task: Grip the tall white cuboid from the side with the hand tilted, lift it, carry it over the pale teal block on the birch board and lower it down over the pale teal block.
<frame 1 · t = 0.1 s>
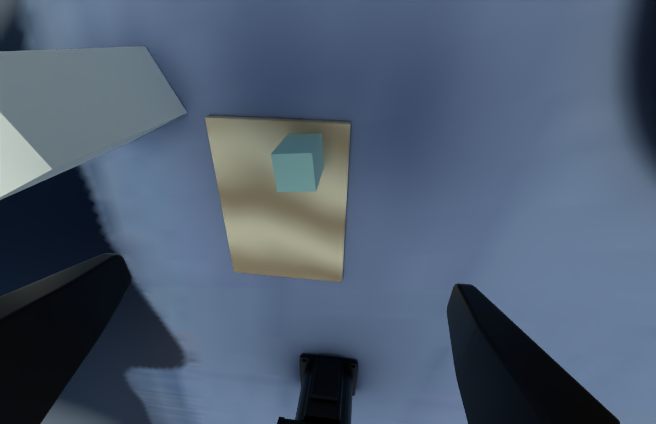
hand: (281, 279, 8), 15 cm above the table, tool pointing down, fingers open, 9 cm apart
tall white cuboid: (137, 97, 21), on the table
pale teal block: (306, 150, 21), resting on board
board: (284, 206, 24), on the table
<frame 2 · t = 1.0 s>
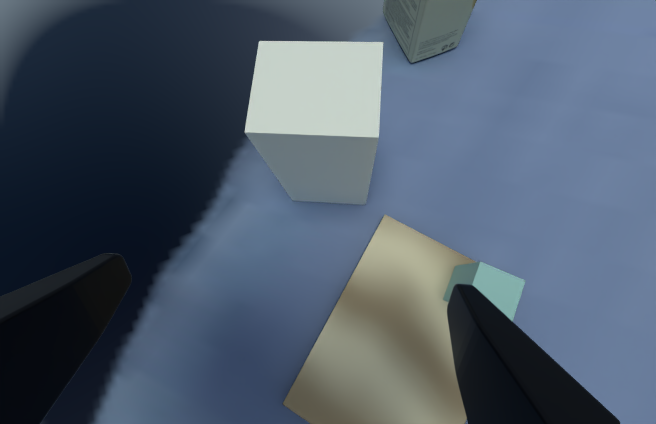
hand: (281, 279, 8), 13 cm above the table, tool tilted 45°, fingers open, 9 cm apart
tall white cuboid: (331, 174, 23), on the table
pale teal block: (466, 290, 20), resting on board
skincare box: (417, 29, 25), on the table
board: (403, 342, 20), on the table
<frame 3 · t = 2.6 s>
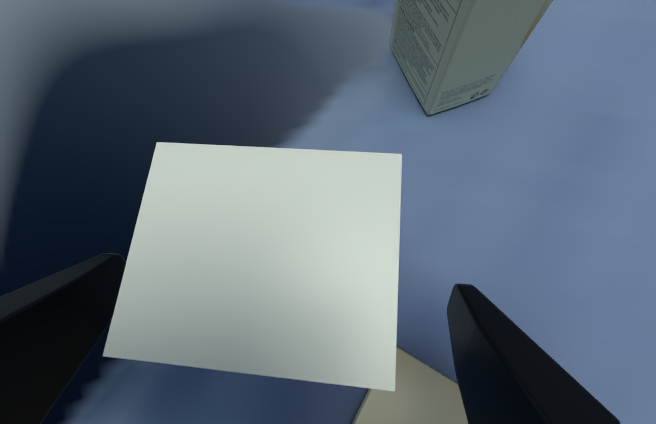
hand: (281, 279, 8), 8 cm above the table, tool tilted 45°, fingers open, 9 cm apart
tall white cuboid: (316, 275, 16), on the table
skincare box: (435, 68, 19), on the table
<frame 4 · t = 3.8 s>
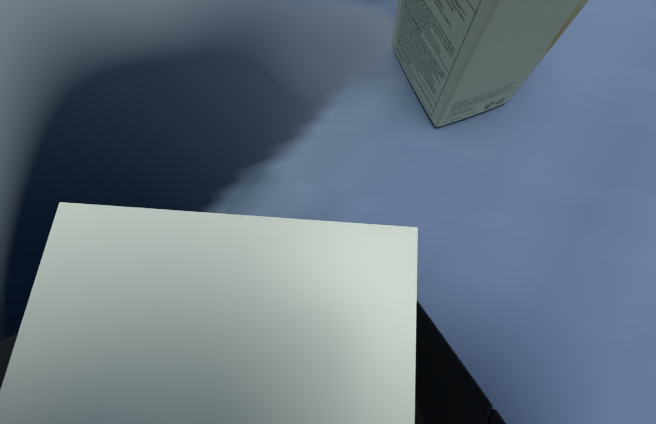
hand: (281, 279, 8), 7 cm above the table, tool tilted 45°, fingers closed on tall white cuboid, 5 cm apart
tall white cuboid: (308, 313, 14), on the table, touching gripper
skincare box: (444, 73, 17), on the table
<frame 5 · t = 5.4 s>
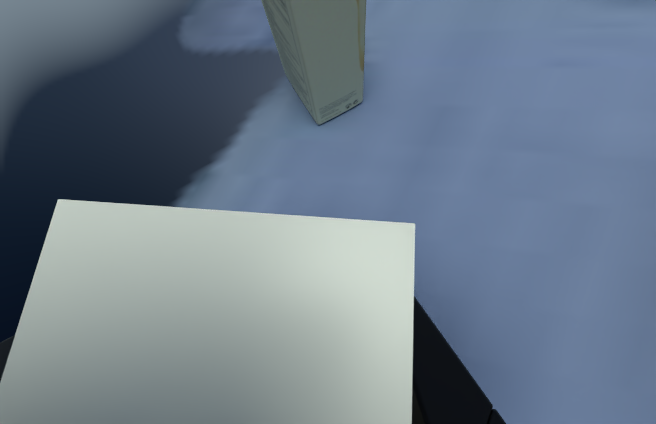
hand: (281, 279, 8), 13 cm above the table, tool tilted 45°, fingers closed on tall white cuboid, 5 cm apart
tall white cuboid: (308, 312, 14), point 7 cm above the table, touching gripper
skincare box: (322, 87, 25), on the table
when the fingers open (9 cm above the table, at t = 7.2 s): tall white cuboid drops 2 cm, resting on board.
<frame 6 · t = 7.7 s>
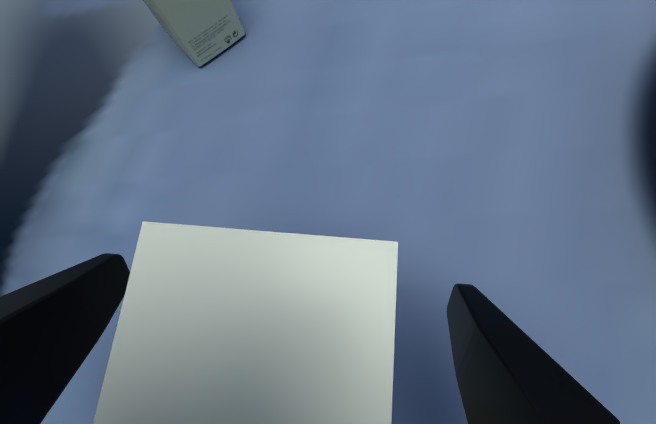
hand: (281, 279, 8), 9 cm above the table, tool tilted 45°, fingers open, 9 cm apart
tall white cuboid: (313, 308, 16), point 1 cm above the table, touching board
skincare box: (201, 29, 22), on the table
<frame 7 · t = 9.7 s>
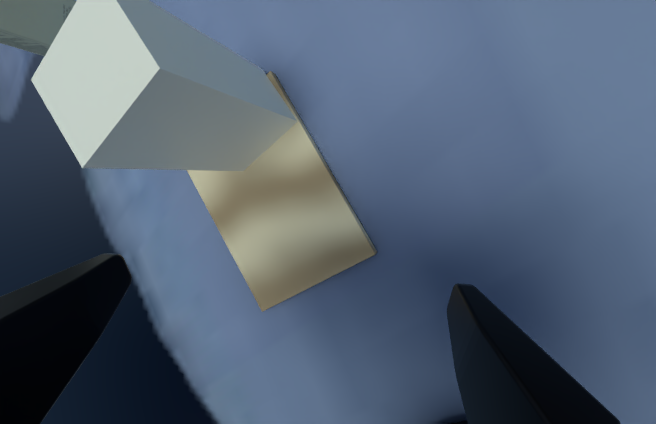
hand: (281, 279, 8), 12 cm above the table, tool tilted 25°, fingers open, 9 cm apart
tall white cuboid: (252, 121, 21), point 1 cm above the table, touching board
skincare box: (72, 35, 27), on the table
board: (270, 197, 22), on the table
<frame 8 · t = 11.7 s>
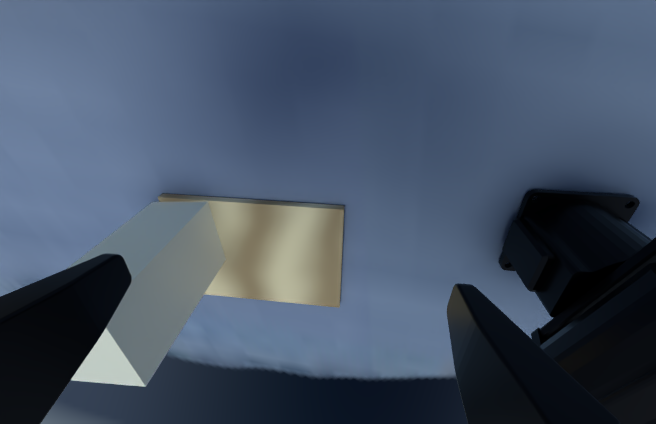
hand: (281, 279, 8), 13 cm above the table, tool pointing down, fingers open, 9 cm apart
tall white cuboid: (190, 231, 24), point 1 cm above the table, touching board
board: (258, 252, 25), on the table
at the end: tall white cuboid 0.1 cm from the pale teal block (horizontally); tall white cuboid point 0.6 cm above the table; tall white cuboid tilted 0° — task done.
